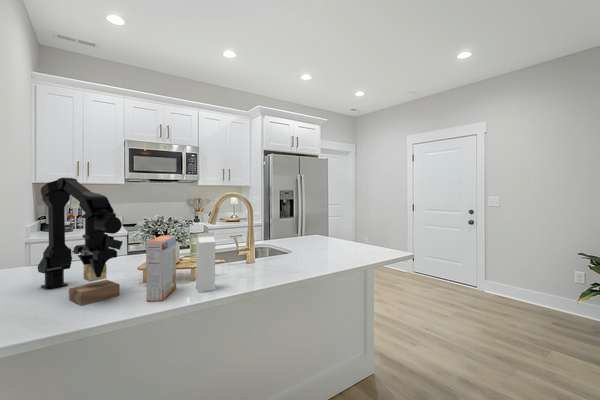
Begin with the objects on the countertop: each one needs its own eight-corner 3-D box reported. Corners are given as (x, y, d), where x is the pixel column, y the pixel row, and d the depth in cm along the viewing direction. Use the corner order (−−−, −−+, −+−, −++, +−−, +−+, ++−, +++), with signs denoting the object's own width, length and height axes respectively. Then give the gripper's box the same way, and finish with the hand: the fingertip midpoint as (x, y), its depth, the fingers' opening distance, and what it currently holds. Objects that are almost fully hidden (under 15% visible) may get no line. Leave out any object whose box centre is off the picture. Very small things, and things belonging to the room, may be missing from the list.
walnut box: (69, 300, 101) (69, 287, 101) (107, 290, 111) (107, 279, 111) (80, 305, 96) (80, 292, 96) (119, 295, 106) (119, 283, 106)
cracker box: (160, 288, 114) (161, 234, 114) (176, 288, 115) (177, 234, 114) (144, 301, 100) (145, 240, 100) (163, 301, 101) (163, 240, 100)
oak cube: (83, 279, 102) (83, 264, 102) (99, 275, 107) (99, 262, 107) (90, 281, 100) (90, 267, 100) (106, 278, 104) (106, 264, 104)
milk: (214, 290, 113) (215, 233, 113) (198, 292, 110) (199, 234, 110) (211, 286, 118) (212, 231, 118) (195, 288, 116) (196, 232, 115)
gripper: (132, 231, 105) (132, 275, 105) (106, 227, 115) (106, 267, 115) (98, 235, 95) (97, 282, 96) (72, 230, 105) (72, 273, 106)
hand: (94, 275), depth 103 cm, fingers closed on oak cube, 5 cm apart
